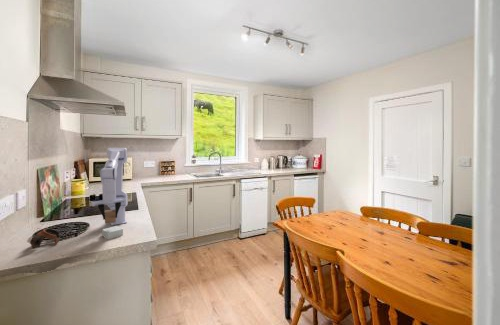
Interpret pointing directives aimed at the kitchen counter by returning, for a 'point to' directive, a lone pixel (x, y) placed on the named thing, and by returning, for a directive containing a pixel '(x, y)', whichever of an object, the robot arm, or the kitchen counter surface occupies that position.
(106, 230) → the base block
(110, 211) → the walnut block
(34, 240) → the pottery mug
